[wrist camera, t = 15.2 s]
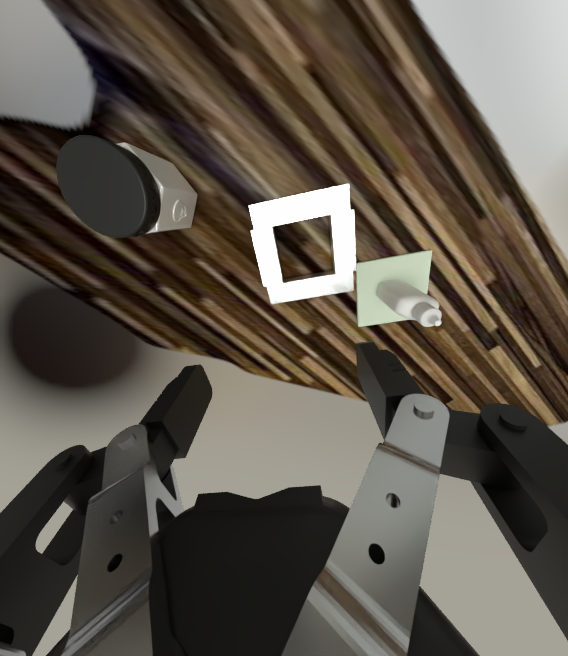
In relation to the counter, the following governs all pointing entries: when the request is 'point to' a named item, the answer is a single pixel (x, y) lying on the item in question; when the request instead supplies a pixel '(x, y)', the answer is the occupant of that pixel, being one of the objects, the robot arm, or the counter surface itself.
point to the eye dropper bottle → (410, 302)
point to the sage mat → (387, 269)
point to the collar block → (298, 209)
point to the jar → (123, 188)
